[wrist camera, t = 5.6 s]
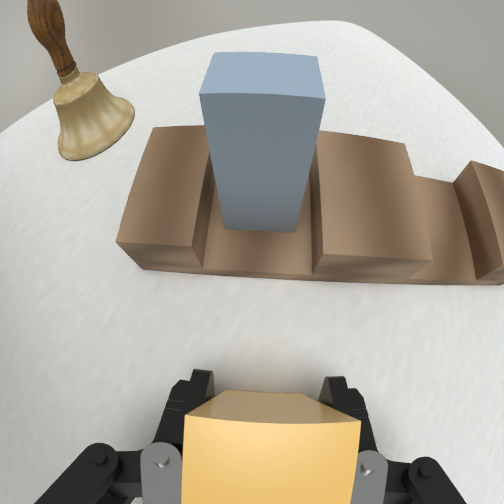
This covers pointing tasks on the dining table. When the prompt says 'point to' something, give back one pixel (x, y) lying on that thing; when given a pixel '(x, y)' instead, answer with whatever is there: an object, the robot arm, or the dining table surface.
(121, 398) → the dining table surface
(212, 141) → the slate plug
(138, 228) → the wooden slotted base
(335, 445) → the amber plug
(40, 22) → the hand bell
